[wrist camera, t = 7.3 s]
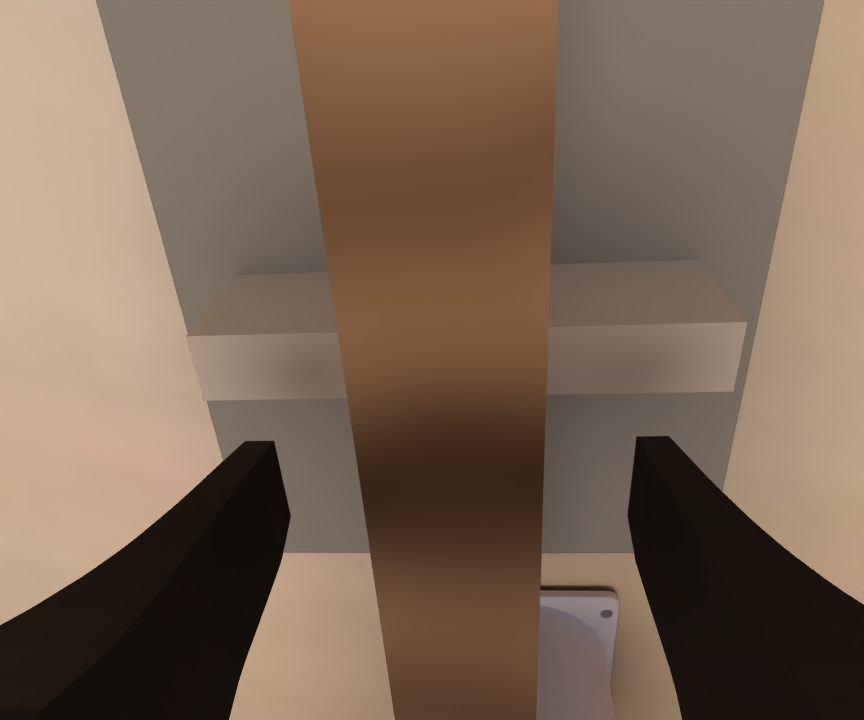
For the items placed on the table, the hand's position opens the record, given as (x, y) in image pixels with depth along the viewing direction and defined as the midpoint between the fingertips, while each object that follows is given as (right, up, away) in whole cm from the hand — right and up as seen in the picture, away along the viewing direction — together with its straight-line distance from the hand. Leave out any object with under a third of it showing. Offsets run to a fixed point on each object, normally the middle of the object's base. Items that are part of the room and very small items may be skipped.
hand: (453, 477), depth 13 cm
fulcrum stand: (+1, +5, +8) cm, 9 cm away
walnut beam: (0, +2, +4) cm, 4 cm away
